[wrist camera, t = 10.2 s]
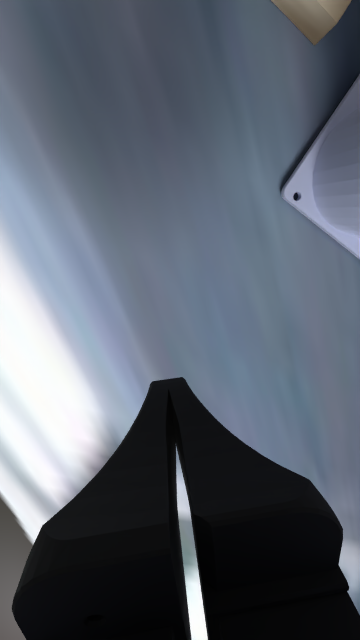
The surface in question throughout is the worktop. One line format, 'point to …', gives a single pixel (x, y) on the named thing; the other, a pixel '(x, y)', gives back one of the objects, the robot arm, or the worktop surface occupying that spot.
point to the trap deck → (313, 15)
